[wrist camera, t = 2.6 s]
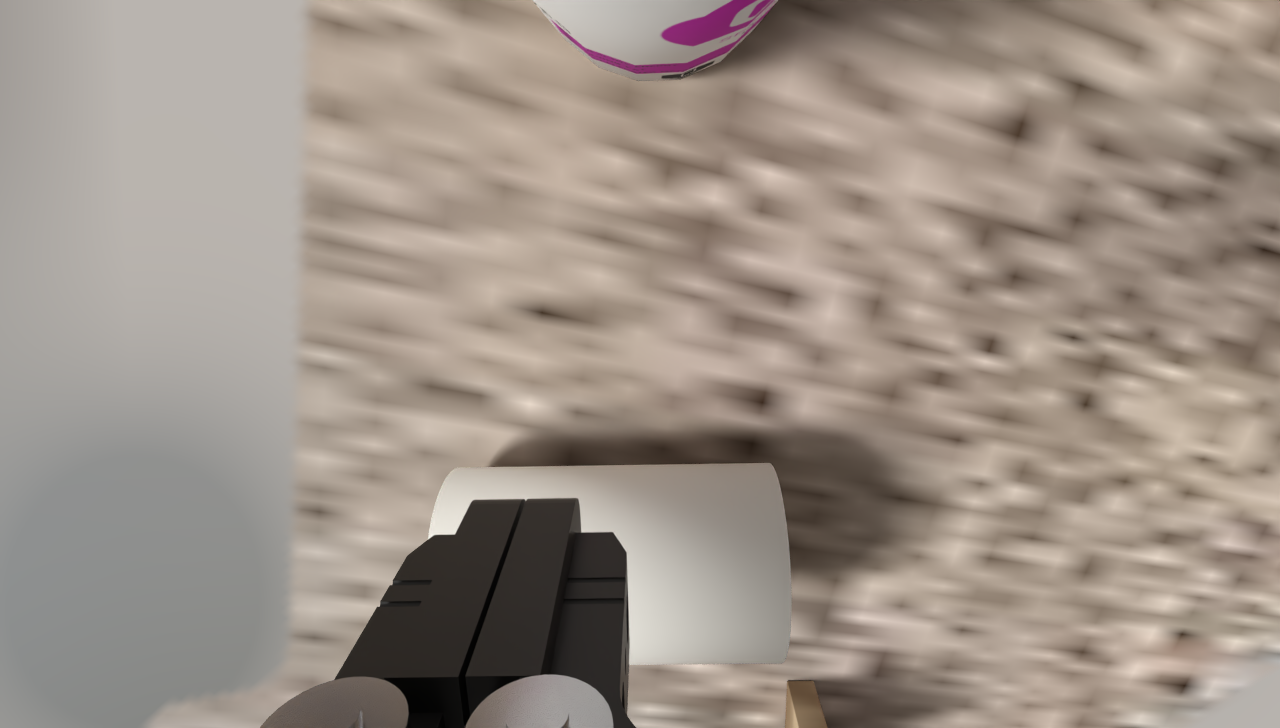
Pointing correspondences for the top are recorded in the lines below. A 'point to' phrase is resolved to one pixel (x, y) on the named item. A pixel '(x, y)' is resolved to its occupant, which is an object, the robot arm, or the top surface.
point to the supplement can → (655, 32)
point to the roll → (671, 549)
